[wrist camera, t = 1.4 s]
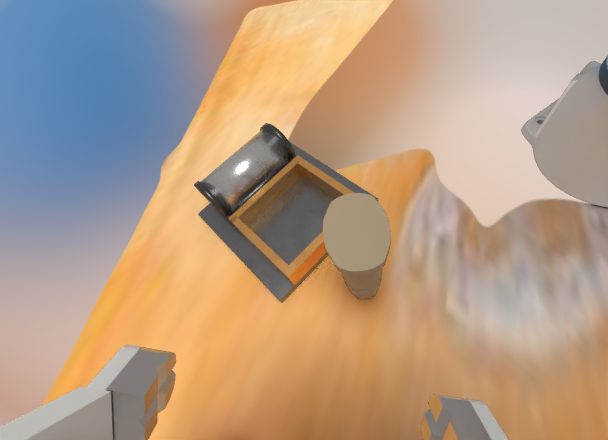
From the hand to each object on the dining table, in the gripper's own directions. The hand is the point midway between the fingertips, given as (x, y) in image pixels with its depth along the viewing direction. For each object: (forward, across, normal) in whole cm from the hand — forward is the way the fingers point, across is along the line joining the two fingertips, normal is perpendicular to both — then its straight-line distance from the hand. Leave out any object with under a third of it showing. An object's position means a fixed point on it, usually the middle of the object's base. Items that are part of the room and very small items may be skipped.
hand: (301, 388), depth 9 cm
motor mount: (+33, +4, +4) cm, 34 cm away
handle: (+24, -8, +9) cm, 26 cm away
